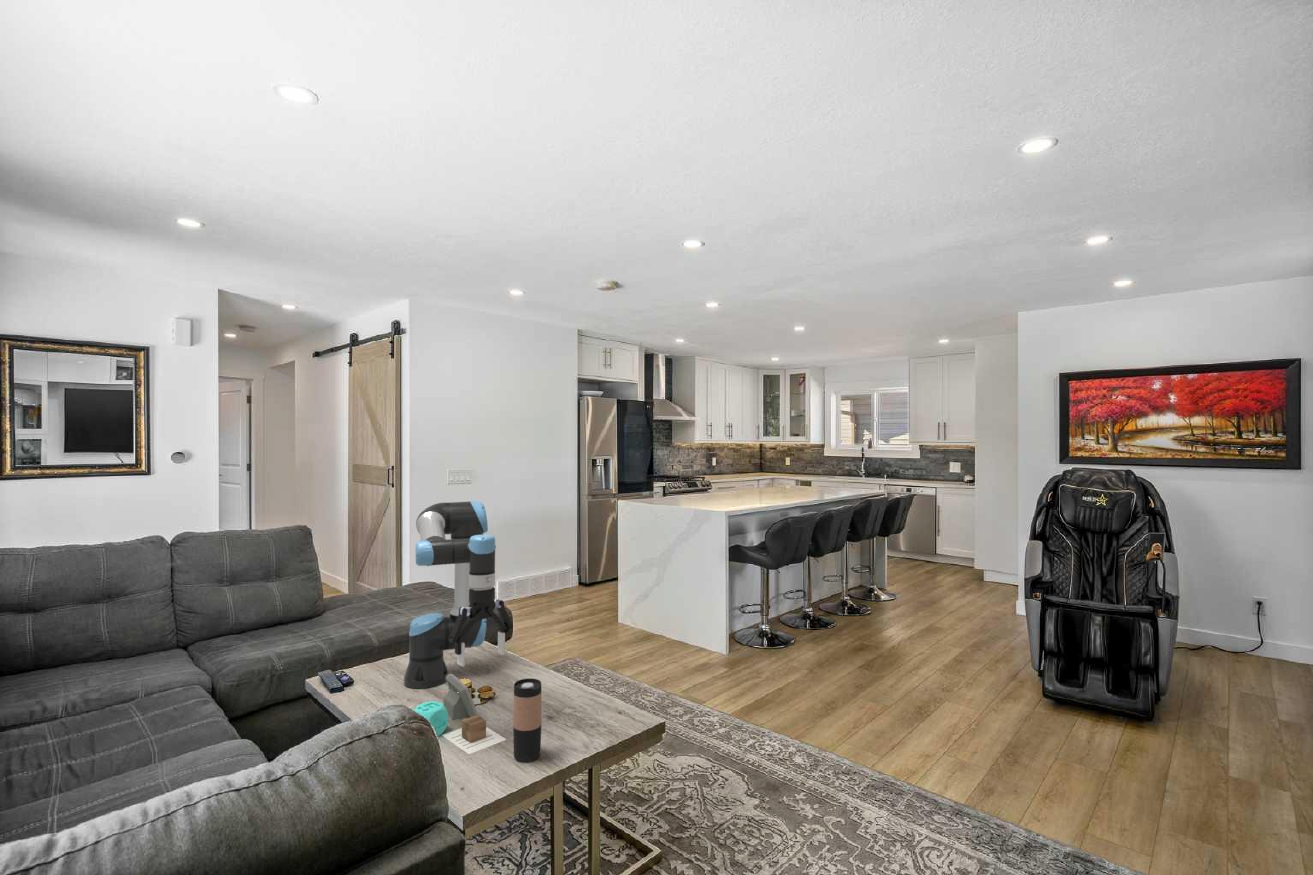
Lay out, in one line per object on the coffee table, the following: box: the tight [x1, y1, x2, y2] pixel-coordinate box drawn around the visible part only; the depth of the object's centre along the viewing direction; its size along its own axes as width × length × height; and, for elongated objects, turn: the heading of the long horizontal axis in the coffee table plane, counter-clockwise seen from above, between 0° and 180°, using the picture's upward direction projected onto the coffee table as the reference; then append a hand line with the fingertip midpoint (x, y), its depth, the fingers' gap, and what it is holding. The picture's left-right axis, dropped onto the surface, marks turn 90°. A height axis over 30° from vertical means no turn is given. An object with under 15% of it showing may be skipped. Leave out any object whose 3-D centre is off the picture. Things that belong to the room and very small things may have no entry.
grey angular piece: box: [443, 673, 478, 721], centre depth 198 cm, size 16×9×11 cm, turn 26°
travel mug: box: [512, 678, 542, 763], centre depth 170 cm, size 8×8×20 cm
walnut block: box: [461, 714, 487, 743], centre depth 180 cm, size 5×5×5 cm
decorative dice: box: [412, 701, 449, 737], centre depth 183 cm, size 8×8×8 cm
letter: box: [441, 726, 507, 755], centre depth 180 cm, size 16×12×1 cm
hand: (481, 659), depth 183 cm, fingers open, 13 cm apart
